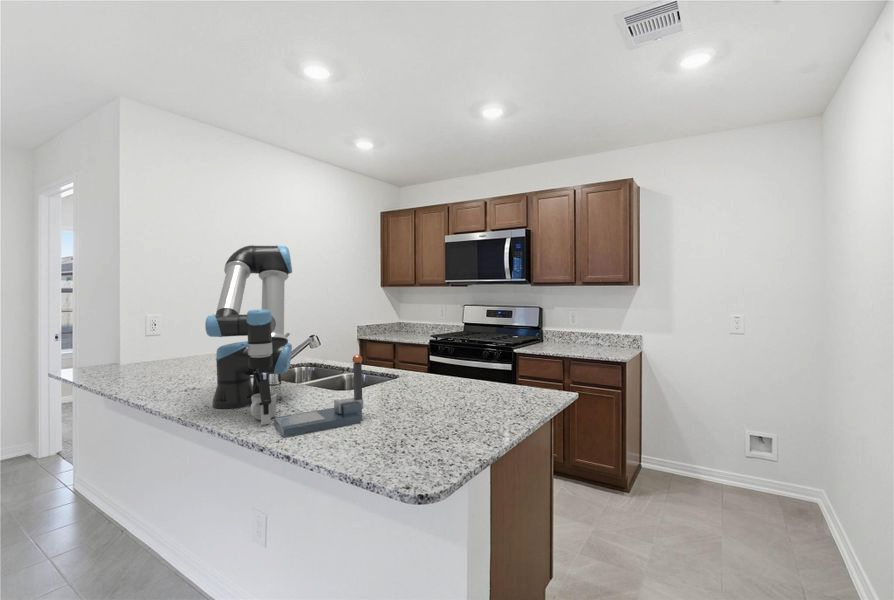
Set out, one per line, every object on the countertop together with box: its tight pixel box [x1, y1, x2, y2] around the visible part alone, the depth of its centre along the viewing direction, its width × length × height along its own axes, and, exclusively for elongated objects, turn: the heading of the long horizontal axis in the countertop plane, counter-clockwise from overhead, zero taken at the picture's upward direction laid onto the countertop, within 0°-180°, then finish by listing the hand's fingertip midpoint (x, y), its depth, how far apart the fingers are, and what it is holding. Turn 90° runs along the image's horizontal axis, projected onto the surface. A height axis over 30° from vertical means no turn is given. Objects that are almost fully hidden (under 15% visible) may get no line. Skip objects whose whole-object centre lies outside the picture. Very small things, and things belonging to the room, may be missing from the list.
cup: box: [249, 391, 278, 421], centre depth 148 cm, size 11×8×8 cm
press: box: [273, 402, 363, 439], centre depth 143 cm, size 14×26×6 cm, turn 122°
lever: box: [333, 354, 364, 414], centre depth 148 cm, size 5×9×18 cm, turn 123°
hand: (262, 419), depth 148 cm, fingers open, 12 cm apart
